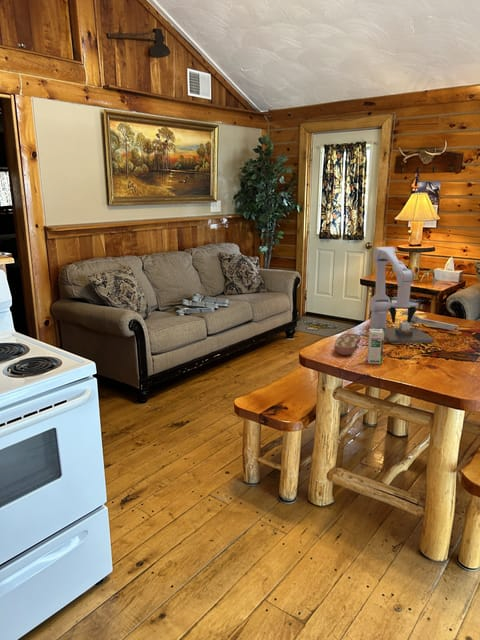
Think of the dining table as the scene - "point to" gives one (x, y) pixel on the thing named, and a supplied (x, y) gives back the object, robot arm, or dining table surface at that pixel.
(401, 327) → the grey block
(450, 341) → the dining table surface
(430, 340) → the stand
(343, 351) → the brown rounded block
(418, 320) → the wrench
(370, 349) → the syrup box
